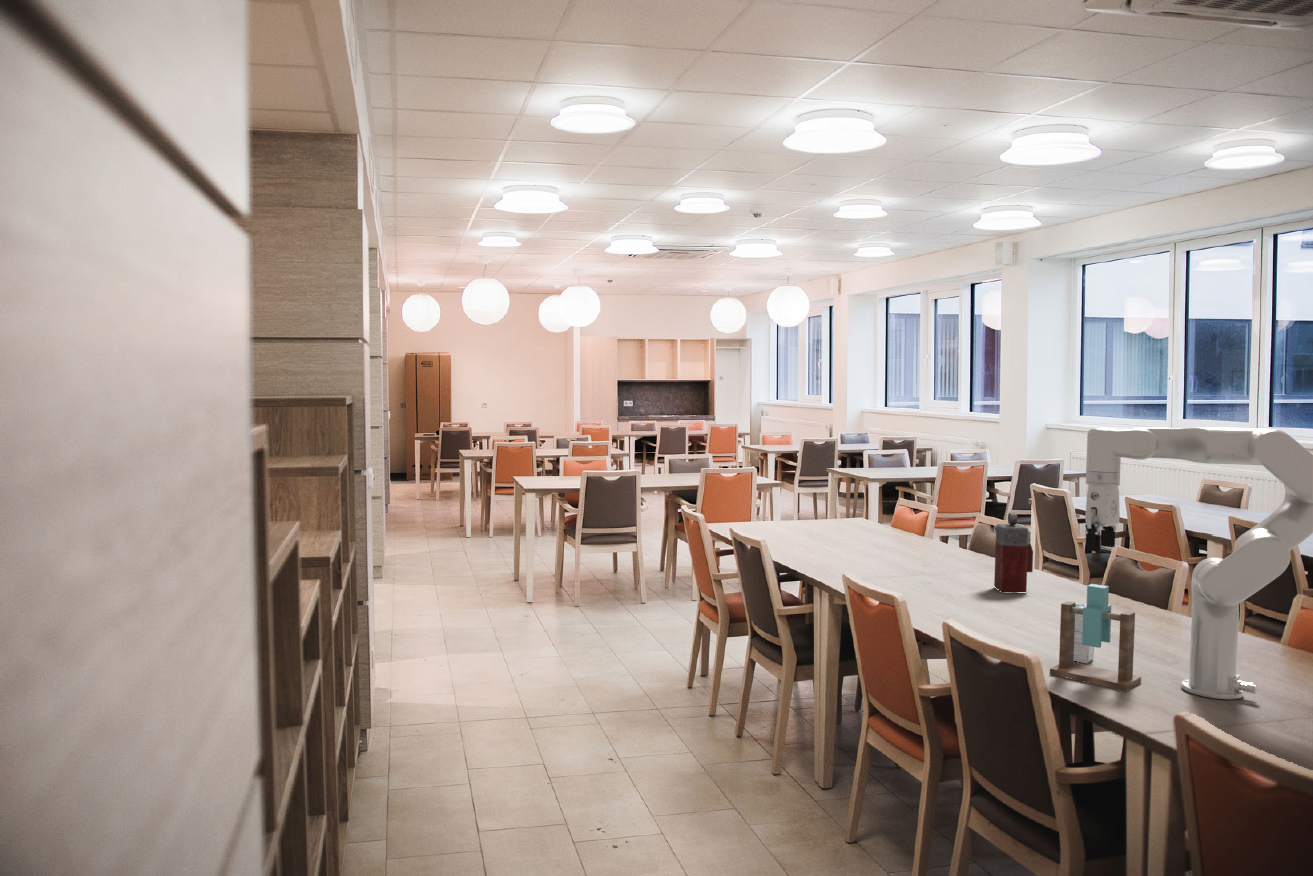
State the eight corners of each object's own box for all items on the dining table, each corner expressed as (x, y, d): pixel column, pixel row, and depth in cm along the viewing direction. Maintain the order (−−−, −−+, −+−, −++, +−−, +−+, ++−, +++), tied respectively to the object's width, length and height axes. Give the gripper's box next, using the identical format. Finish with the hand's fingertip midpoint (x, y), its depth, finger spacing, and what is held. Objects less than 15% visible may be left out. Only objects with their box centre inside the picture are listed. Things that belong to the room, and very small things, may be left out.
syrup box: (1070, 655, 252) (1072, 602, 251) (1094, 660, 248) (1096, 605, 247) (1064, 660, 247) (1066, 605, 246) (1088, 664, 243) (1090, 609, 243)
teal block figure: (1110, 641, 232) (1112, 584, 231) (1099, 647, 227) (1101, 589, 226) (1093, 638, 235) (1095, 582, 234) (1082, 644, 230) (1083, 587, 229)
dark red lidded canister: (1033, 594, 331) (1036, 514, 329) (1000, 592, 332) (1003, 513, 331) (1025, 588, 340) (1028, 511, 338) (993, 587, 341) (996, 510, 339)
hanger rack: (1140, 682, 228) (1143, 611, 228) (1126, 691, 221) (1129, 617, 221) (1065, 666, 241) (1068, 599, 240) (1049, 674, 234) (1052, 604, 233)
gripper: (1105, 481, 220) (1103, 554, 221) (1131, 478, 232) (1128, 546, 233) (1073, 479, 225) (1070, 550, 226) (1099, 475, 238) (1097, 543, 238)
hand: (1100, 548), depth 230 cm, fingers open, 9 cm apart
